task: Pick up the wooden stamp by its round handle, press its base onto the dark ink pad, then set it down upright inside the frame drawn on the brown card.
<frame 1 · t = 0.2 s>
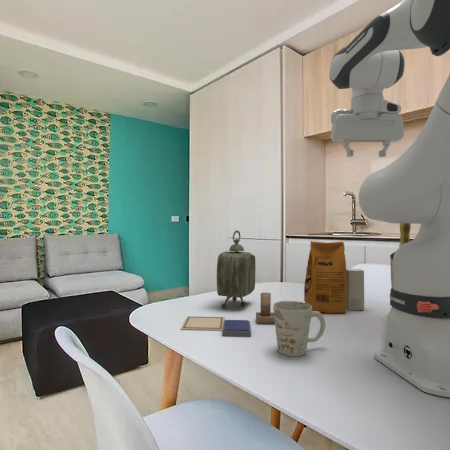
hand: (366, 156, 99), 47 cm above the table, tool pointing down, fingers open, 8 cm apart
mug: (300, 350, 74), on the table
ink pad: (236, 330, 86), on the table
coffee package: (324, 310, 107), on the table
liquor: (403, 323, 94), on the table
box: (353, 309, 109), on the table
tabletop clock: (237, 306, 111), on the table
target card: (203, 323, 91), on the table
stamp: (265, 321, 94), on the table
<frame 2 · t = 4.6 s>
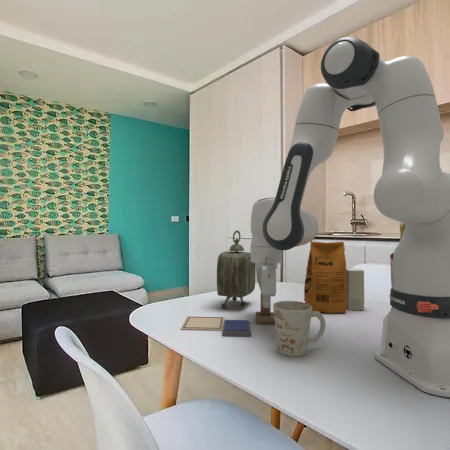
hand: (265, 305, 94), 5 cm above the table, tool pointing down, fingers closed on stamp, 3 cm apart
stamp: (265, 321, 94), on the table, touching gripper
everything else where it was.
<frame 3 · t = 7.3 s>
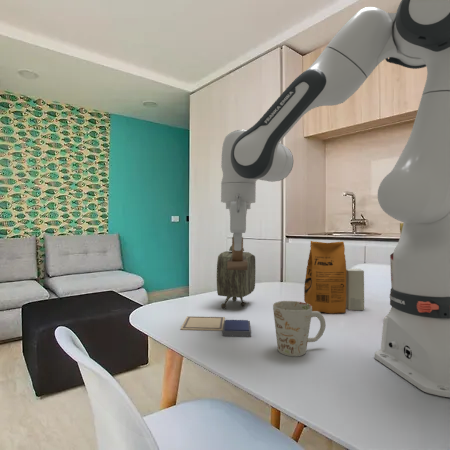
hand: (237, 249, 86), 21 cm above the table, tool pointing down, fingers closed on stamp, 3 cm apart
stamp: (237, 268, 86), point 16 cm above the table, touching gripper
everything else where it was.
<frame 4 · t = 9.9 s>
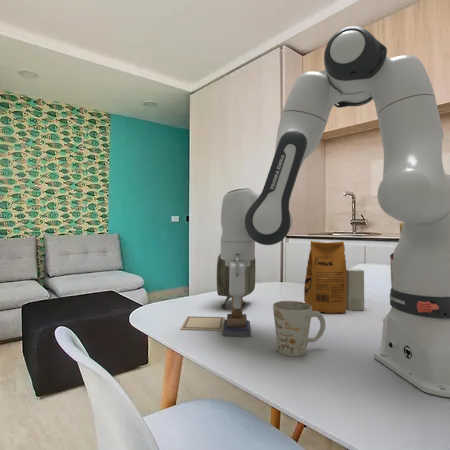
hand: (237, 305, 86), 6 cm above the table, tool pointing down, fingers closed on stamp, 3 cm apart
stamp: (236, 324, 86), point 2 cm above the table, touching gripper, ink pad
everything else where it was.
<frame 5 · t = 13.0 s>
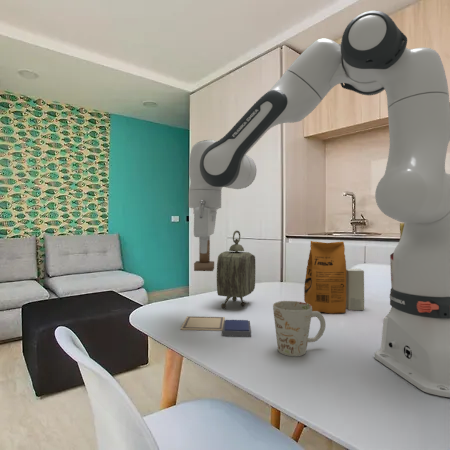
hand: (204, 252, 91), 20 cm above the table, tool pointing down, fingers closed on stamp, 3 cm apart
stamp: (204, 269, 91), point 15 cm above the table, touching gripper
everything else where it was.
when the fingers open (6 cm above the table, at t = 15.6 s): stamp stays where it is, resting on target card.
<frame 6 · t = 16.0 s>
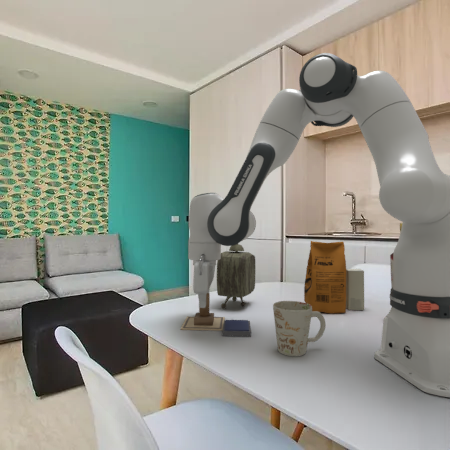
hand: (204, 303, 91), 6 cm above the table, tool pointing down, fingers open, 7 cm apart
stamp: (204, 322, 91), resting on target card
everything else where it was.
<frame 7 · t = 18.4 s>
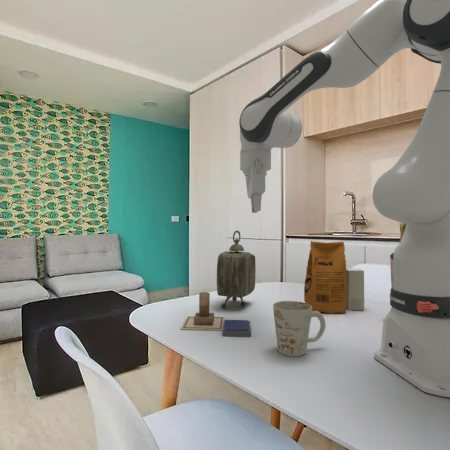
hand: (256, 212, 96), 31 cm above the table, tool pointing down, fingers open, 8 cm apart
nothing on the table moved.
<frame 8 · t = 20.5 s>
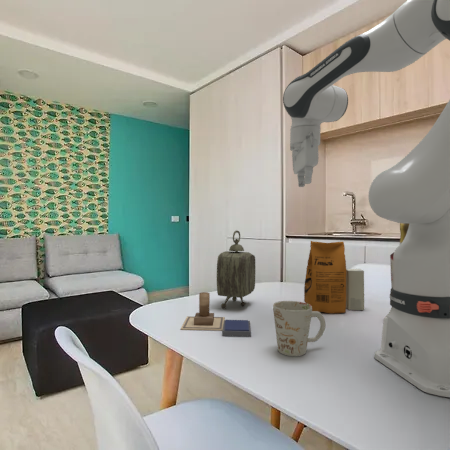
hand: (304, 185, 101), 39 cm above the table, tool pointing down, fingers open, 8 cm apart
nothing on the table moved.
at the end: stamp inside the target area on the target card (0.1 cm from its centre), point 0.3 cm above the target card's base; stamp tilted 0°; the gripper is holding nothing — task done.
